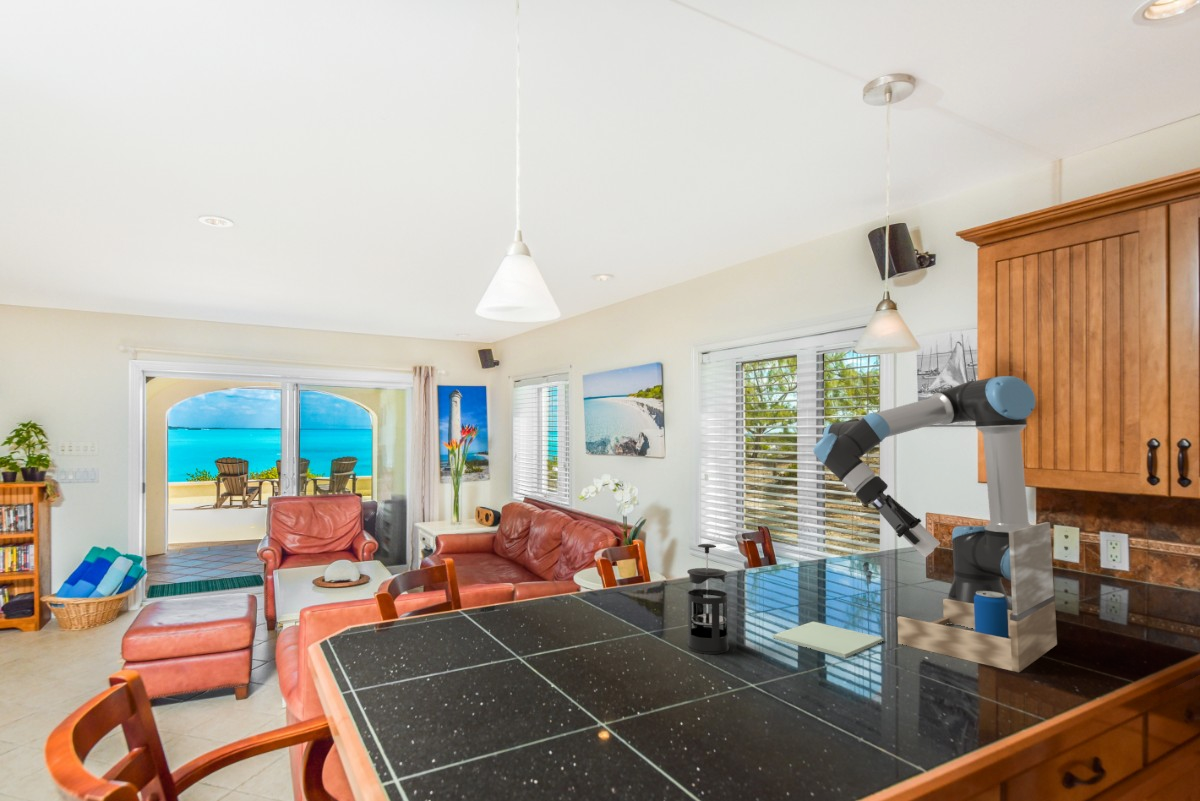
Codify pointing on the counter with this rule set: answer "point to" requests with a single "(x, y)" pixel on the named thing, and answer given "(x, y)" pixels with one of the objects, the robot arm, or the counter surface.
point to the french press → (700, 636)
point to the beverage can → (991, 613)
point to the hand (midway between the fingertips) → (933, 550)
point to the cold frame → (1025, 621)
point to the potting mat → (828, 639)
